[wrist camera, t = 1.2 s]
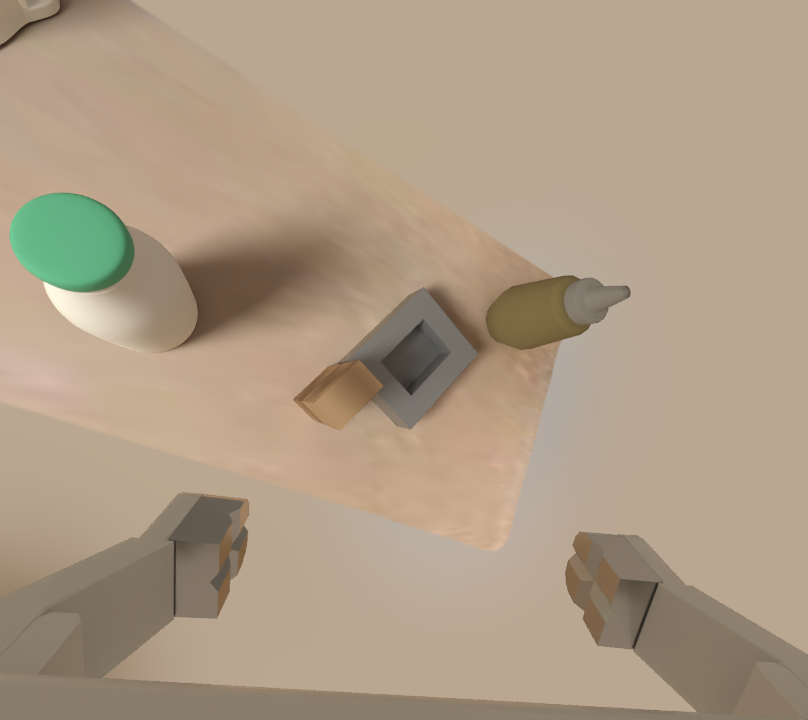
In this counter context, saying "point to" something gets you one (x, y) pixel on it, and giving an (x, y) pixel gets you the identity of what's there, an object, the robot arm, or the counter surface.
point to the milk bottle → (104, 273)
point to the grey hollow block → (413, 357)
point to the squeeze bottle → (550, 310)
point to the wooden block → (338, 393)
